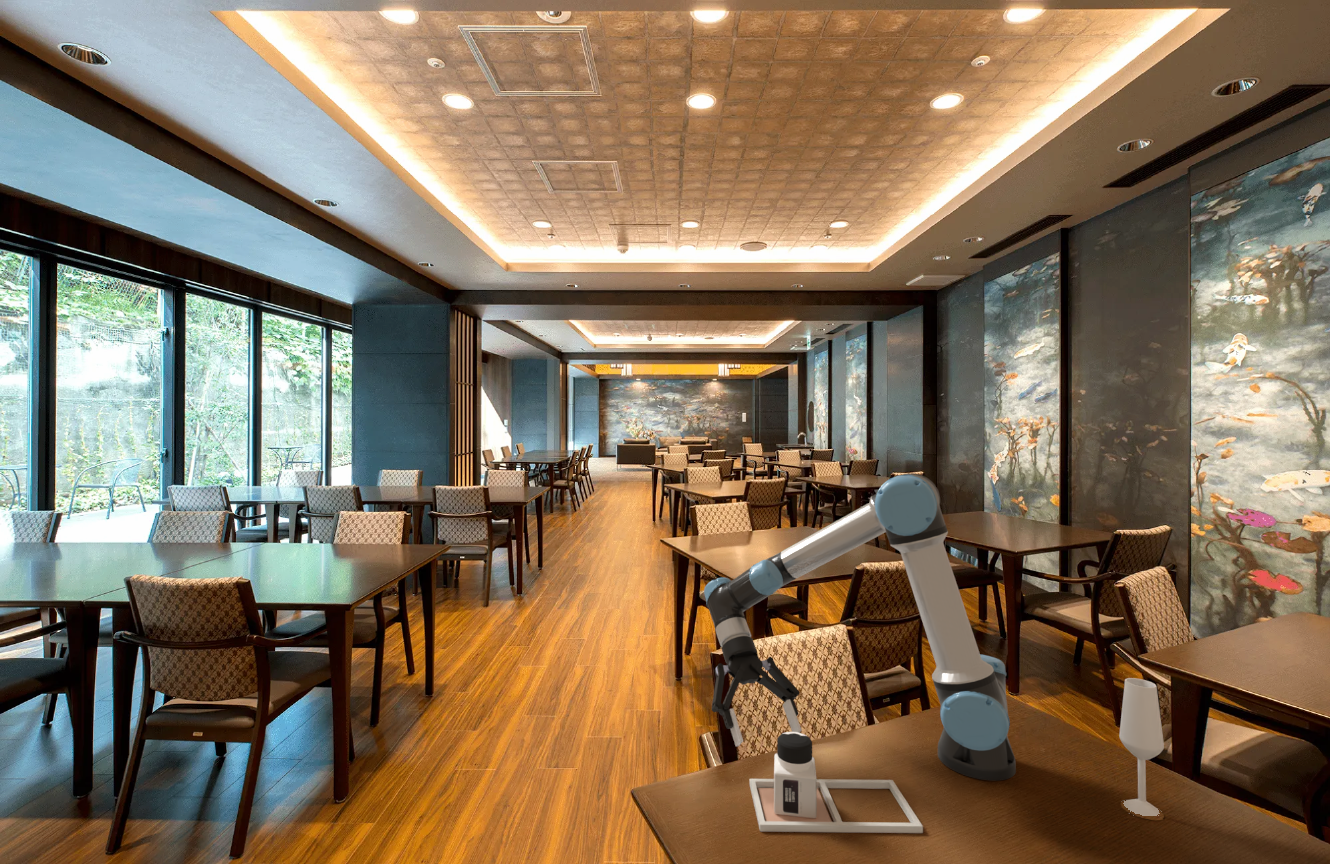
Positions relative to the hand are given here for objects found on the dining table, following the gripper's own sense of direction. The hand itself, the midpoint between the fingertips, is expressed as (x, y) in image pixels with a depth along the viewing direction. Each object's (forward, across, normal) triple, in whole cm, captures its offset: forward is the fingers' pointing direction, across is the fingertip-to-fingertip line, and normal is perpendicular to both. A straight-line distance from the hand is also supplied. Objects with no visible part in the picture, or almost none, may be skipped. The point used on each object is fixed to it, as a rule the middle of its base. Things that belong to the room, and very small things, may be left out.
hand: (769, 738), depth 126 cm
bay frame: (+14, -6, +2) cm, 16 cm away
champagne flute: (+29, -62, +17) cm, 70 cm away
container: (+13, 0, 0) cm, 13 cm away
